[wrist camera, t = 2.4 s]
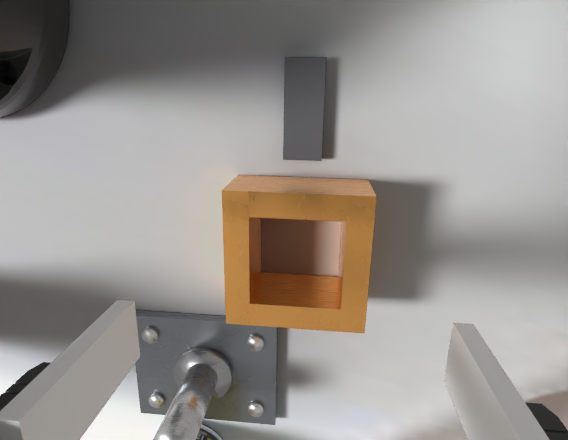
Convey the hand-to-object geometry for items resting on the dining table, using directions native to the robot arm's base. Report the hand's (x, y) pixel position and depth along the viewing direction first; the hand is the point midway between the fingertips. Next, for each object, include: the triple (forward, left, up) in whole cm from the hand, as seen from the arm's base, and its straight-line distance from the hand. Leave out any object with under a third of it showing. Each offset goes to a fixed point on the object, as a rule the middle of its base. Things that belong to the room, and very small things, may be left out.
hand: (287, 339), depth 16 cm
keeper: (+11, -7, -12) cm, 17 cm away
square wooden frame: (0, 0, -12) cm, 12 cm away
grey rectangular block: (-9, 0, -12) cm, 14 cm away
